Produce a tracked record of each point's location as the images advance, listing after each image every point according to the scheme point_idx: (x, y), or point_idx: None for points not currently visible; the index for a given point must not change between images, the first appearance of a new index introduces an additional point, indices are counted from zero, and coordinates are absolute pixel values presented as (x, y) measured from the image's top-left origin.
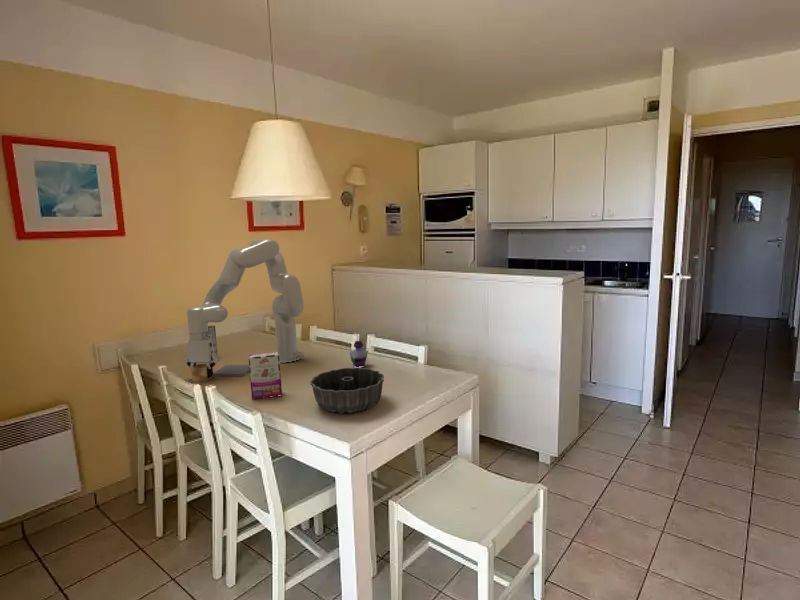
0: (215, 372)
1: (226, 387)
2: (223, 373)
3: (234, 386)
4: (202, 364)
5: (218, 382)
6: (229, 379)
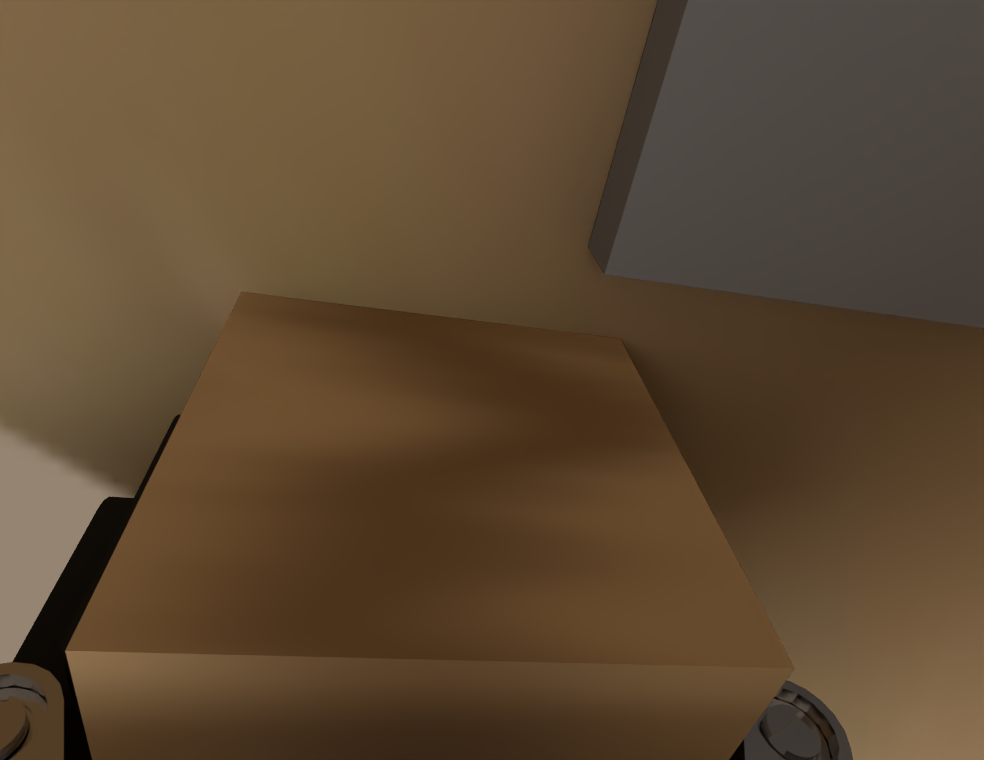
0: (683, 155)
1: (872, 743)
2: (919, 287)
3: (974, 720)
4: (374, 736)
5: (764, 610)
6: (964, 497)
